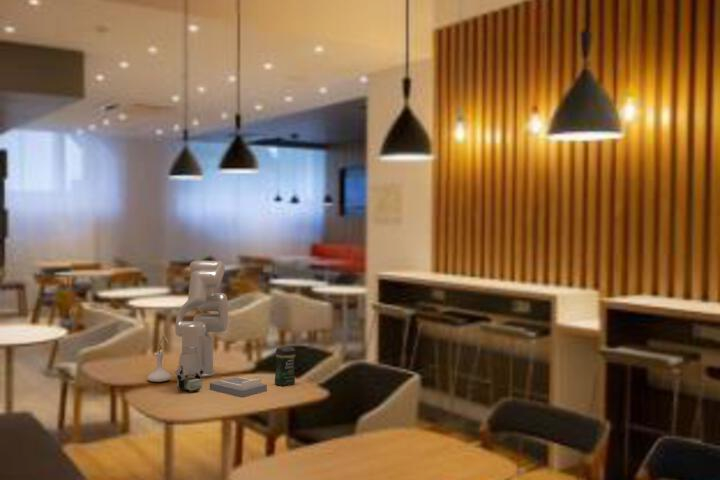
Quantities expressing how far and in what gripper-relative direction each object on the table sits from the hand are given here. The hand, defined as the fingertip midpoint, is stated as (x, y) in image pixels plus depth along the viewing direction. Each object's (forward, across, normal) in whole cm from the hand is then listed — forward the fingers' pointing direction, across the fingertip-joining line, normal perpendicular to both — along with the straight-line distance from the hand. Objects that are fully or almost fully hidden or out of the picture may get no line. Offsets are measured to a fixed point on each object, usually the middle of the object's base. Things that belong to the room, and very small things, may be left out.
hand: (189, 386), depth 343 cm
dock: (+2, -16, +16) cm, 23 cm away
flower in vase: (+2, -4, -27) cm, 27 cm away
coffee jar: (+2, -40, +24) cm, 47 cm away
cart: (+2, 0, 0) cm, 2 cm away
